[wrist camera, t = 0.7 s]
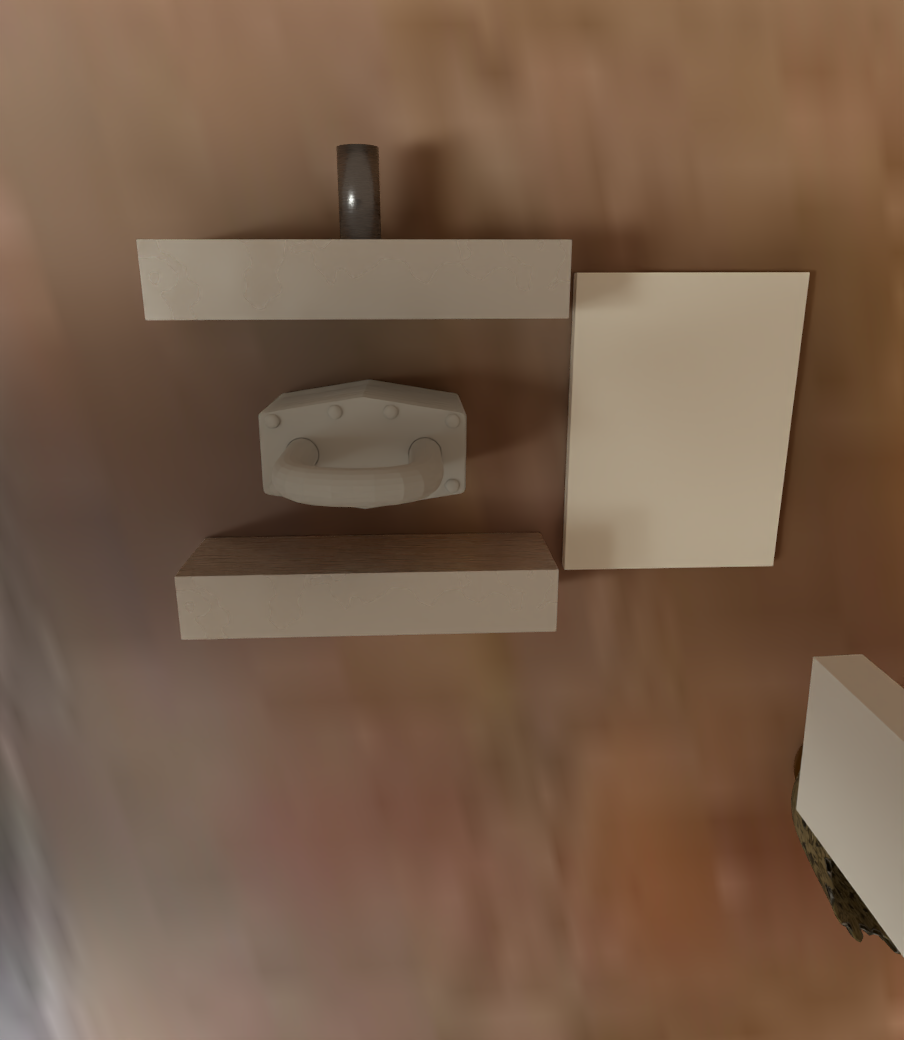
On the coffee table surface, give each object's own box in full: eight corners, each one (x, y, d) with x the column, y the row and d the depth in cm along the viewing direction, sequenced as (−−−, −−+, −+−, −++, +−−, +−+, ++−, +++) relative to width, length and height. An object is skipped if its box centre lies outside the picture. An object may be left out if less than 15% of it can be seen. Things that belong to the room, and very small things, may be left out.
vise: (211, 593, 33) (181, 639, 29) (168, 157, 28) (124, 135, 24) (538, 587, 34) (556, 631, 30) (552, 159, 29) (575, 138, 25)
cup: (718, 789, 38) (796, 919, 30) (804, 663, 36) (910, 767, 28) (843, 843, 39) (949, 982, 31) (933, 724, 37) (1068, 840, 29)
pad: (562, 564, 34) (564, 569, 33) (574, 272, 30) (577, 272, 30) (766, 561, 34) (773, 566, 34) (802, 272, 31) (809, 272, 30)
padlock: (459, 378, 31) (479, 421, 22) (458, 476, 33) (476, 558, 23) (279, 378, 31) (219, 422, 21) (285, 477, 32) (231, 560, 23)
